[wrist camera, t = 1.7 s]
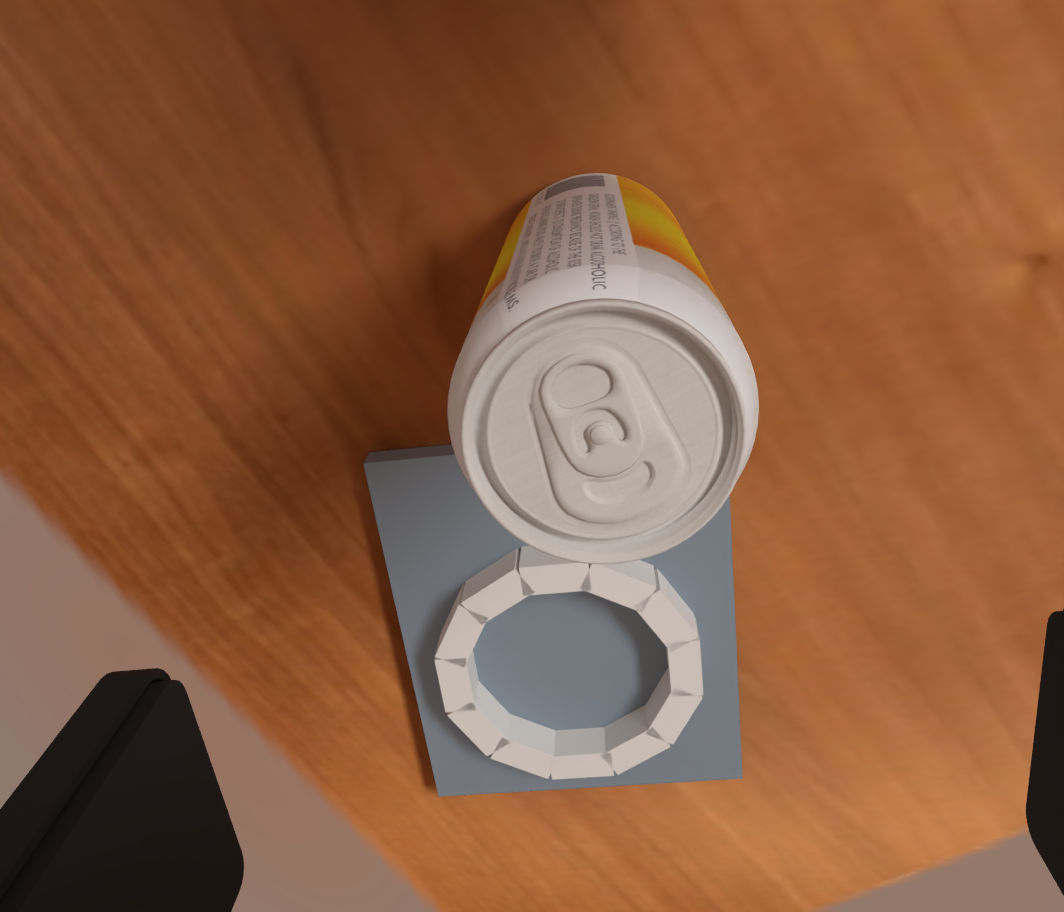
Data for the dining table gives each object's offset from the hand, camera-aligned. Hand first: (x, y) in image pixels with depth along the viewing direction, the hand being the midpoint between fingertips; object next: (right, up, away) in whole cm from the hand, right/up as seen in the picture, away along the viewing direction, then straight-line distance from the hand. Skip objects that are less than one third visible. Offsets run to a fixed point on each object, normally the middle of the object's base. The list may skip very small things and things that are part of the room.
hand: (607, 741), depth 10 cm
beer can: (+1, +10, +21) cm, 23 cm away
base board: (+1, -3, +26) cm, 27 cm away
